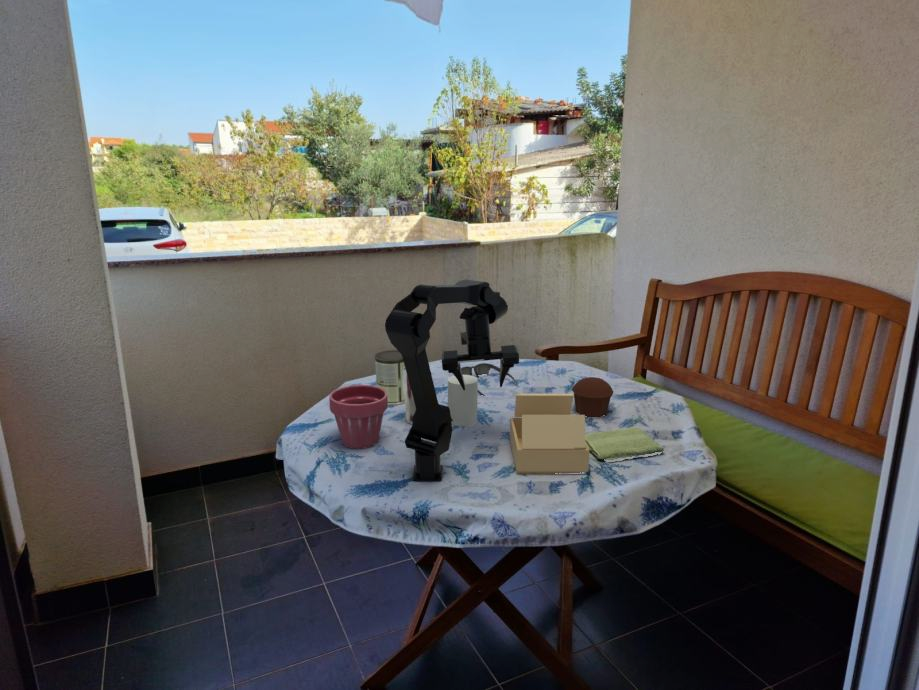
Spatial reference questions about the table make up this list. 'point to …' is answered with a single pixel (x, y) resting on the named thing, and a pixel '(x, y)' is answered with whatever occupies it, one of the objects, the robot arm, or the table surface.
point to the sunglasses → (482, 371)
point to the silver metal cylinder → (408, 398)
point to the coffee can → (390, 375)
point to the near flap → (553, 431)
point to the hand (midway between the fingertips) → (482, 388)
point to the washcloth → (621, 443)
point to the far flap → (543, 404)
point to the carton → (545, 456)
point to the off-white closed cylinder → (463, 400)
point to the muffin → (592, 397)
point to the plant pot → (359, 414)
